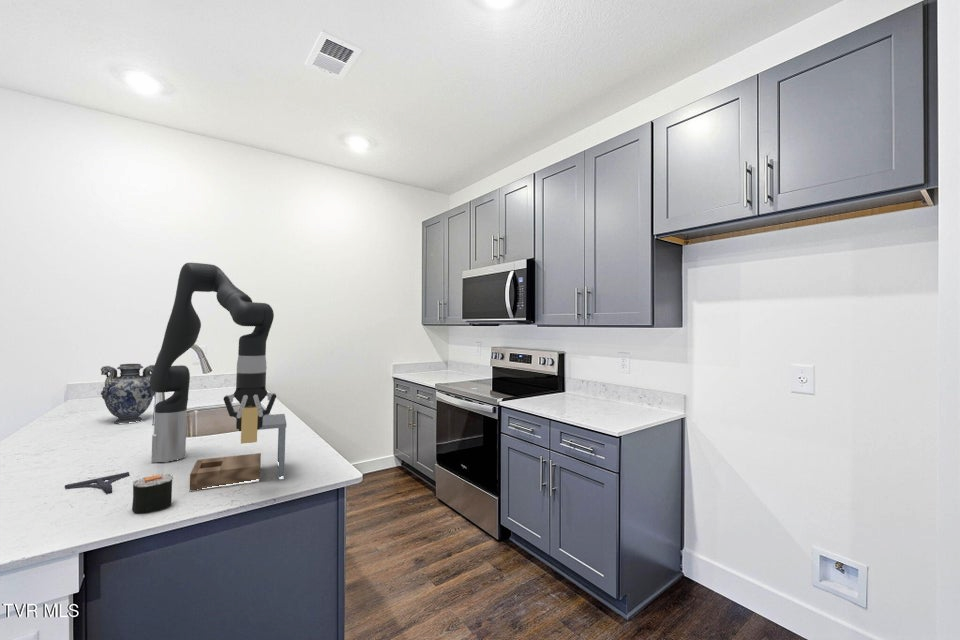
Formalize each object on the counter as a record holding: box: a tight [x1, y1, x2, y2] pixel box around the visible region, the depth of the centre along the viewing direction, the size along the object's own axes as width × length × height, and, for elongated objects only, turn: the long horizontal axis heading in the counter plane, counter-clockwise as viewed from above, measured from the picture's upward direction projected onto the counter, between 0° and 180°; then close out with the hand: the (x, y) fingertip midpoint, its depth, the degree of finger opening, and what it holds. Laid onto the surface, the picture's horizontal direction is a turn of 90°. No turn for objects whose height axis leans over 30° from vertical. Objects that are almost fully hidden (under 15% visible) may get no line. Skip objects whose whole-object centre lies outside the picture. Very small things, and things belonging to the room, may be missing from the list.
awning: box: [260, 413, 287, 477], centre depth 135 cm, size 11×16×18 cm
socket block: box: [189, 452, 262, 491], centre depth 130 cm, size 18×14×5 cm
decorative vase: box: [100, 363, 156, 424], centre depth 201 cm, size 21×19×28 cm
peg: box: [240, 405, 258, 444], centre depth 120 cm, size 4×4×10 cm
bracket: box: [64, 471, 130, 495], centre depth 121 cm, size 14×15×3 cm
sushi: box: [131, 473, 174, 515], centre depth 109 cm, size 8×8×8 cm
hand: (249, 429), depth 120 cm, fingers closed on peg, 4 cm apart
